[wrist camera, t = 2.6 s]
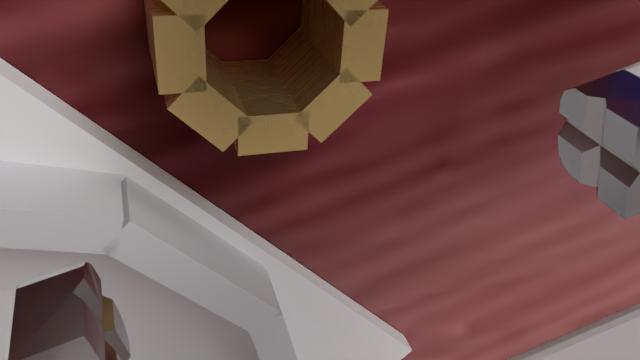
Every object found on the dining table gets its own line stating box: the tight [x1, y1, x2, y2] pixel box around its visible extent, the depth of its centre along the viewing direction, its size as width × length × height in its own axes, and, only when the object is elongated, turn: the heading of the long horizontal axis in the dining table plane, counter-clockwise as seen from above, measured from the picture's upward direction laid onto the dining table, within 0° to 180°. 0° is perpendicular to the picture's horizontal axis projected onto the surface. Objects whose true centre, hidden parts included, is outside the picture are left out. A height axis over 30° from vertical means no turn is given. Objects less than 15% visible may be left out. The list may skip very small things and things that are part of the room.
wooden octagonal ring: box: [144, 0, 389, 156], centre depth 17 cm, size 6×6×4 cm
